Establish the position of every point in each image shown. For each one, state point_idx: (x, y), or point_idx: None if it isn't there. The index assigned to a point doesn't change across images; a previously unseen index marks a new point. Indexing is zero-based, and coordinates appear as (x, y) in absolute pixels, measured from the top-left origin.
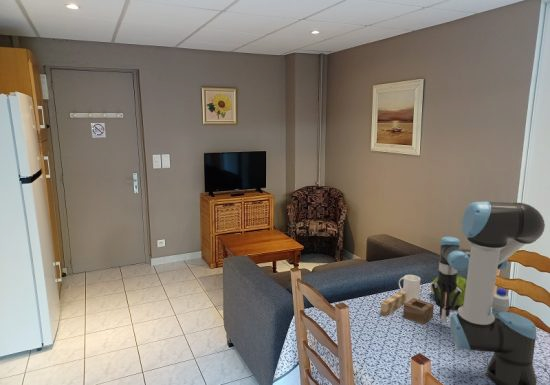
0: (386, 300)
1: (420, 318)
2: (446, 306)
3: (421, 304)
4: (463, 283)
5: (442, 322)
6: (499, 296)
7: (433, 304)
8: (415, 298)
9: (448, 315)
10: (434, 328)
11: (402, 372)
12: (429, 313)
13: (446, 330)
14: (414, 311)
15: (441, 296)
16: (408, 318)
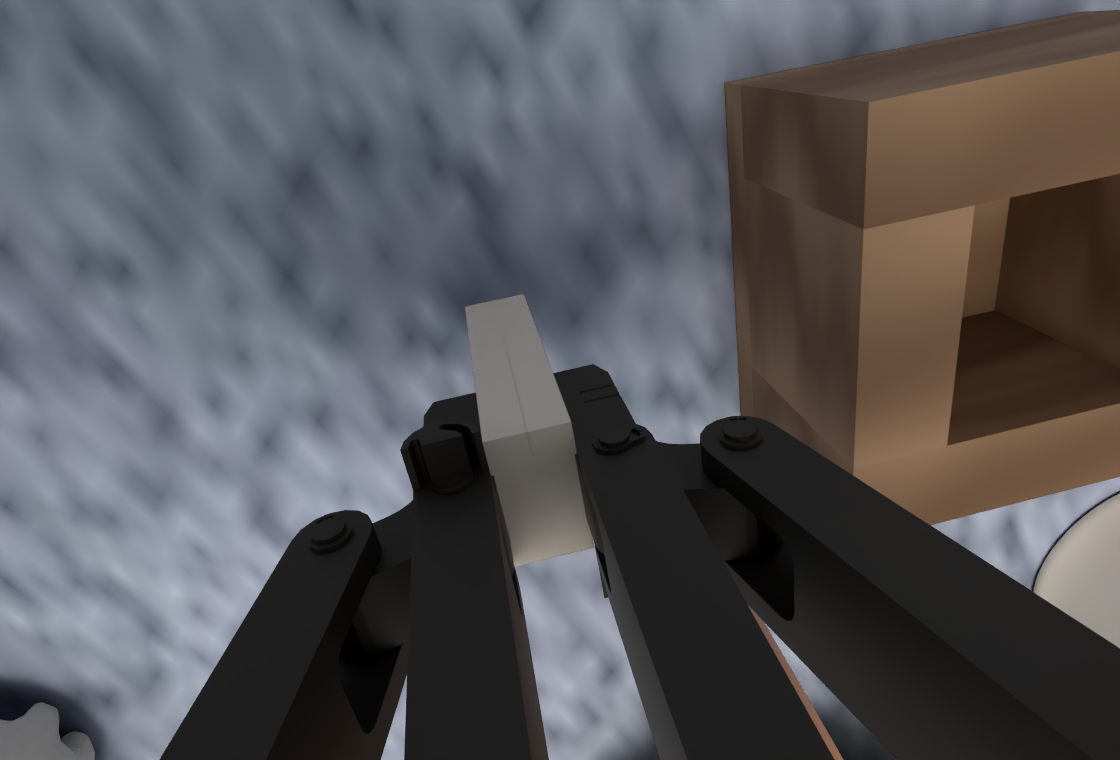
0: None
1: (835, 73)
2: (476, 514)
3: (1021, 400)
4: None
5: (500, 301)
6: None
7: None
8: (1108, 581)
9: (425, 424)
10: (538, 120)
11: None
12: (788, 332)
13: (382, 233)
14: (1039, 50)
15: (757, 702)
16: (999, 29)
